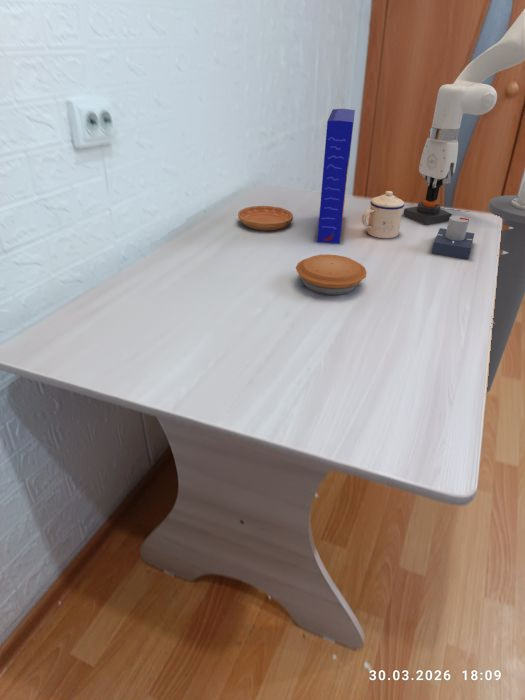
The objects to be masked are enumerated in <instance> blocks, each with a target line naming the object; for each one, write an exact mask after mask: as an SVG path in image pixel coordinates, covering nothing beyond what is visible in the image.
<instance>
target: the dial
mask: <svg viewBox="0 0 525 700" xmlns="http://www.w3.org/2000/svg"><path fill="white" fill-rule="evenodd" d="M469 223H470V218H468V217H467V216H462V215H452V216H451V217H450V218H449V221H447V226H446V229H447V231H446V235H445V237H446V238H448V239H450V240H455V241H461V240H464V239H465V235H466V232H468V227H469Z"/></svg>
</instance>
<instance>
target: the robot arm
mask: <svg viewBox="0 0 525 700" xmlns="http://www.w3.org/2000/svg"><path fill="white" fill-rule="evenodd" d="M523 62H525V8H524V9H523V10H522V12H521V13H520V14H519V16H518V17H516V19H515V21H514V22H513V23H512V25H511V26H510V27H508V29H507V31H506V32H505V34H503V36H502V37H501V38H500V40H499V41H497V42H496V43H495V44H493V45H492V46H490V47H489V48H487V49H486V50H485V51H483V52H482V53H481V54H479V55H478V56H476V57H475V58H474V59H473V60H471V61H470V62H469V63H468V64H467V65H465V68H464V69H463V70H462V71H461V72H460V74H459V75H458V76H457V77H456V79H455V80H454V82H452V83H447V84H442V85H441V86H440V87H439V89H438V92H437V98H436V102H435V107H434V113H433V118H432V124H431V127H429V133H430V135H429V137H428V138H426V141H425V143H424V147H423V149H422V153H421V157H420V161H419V166H418V172H419V173H420V175H421V177H422V178H424V180H425V181H426V187H427V189H426V195H425V199H426V200H428V201H434V200H436V201H437V200H438V197H439V192H440V188H442V187H443V185H447V184H451V182H452V178H453V177H454V174H455V172H456V168H457V167H456V166H457V162H458V153H459V141H458V139H459V134H460V130H461V125H462V120H463V117H464V116H463V115H474V116H482V115H484V114H487V113H489V112H490V111H491V110H493V108H494V107H495V106H496V103H497V100H498V93H497V90H496V89H495V88H494V87H493V86H492V85H490V84H487V83H484V82H485V81H486V80H487V79H488V78H490V77H491V76H493V75H495V74H497V73H500V72H503V71H504V70H507V69H510V68H513V67H515V66H517V65H519V64H521V63H523ZM511 205H512V206H514V207H516V208H519V209H522V210H525V176H524V177H523V180H522V183H521V187H520V190H519V193H518V198H516V199H513V200H512V202H511Z"/></svg>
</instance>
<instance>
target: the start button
mask: <svg viewBox="0 0 525 700" xmlns="http://www.w3.org/2000/svg"><path fill="white" fill-rule="evenodd" d="M423 202H424V203H423V206H426V207H435V205H436V204H437V200H434V201H428V200H426V198H424V199H423Z"/></svg>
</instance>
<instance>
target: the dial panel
mask: <svg viewBox="0 0 525 700" xmlns="http://www.w3.org/2000/svg"><path fill="white" fill-rule="evenodd" d="M446 231H447V228H441V227H440V228H439V229H438V232H437V234H436V236H435V238H434V241H433V244H432V249H431V254H433V255H440V256H446V257H451V258H457V259H463V260H469V257H470V254H471V250H472V246H473V241H474V237H475V232H469V231H466V235H465V239H464V240H461V241H455V240H450V239H448V238H446V237H445V235H446Z"/></svg>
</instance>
